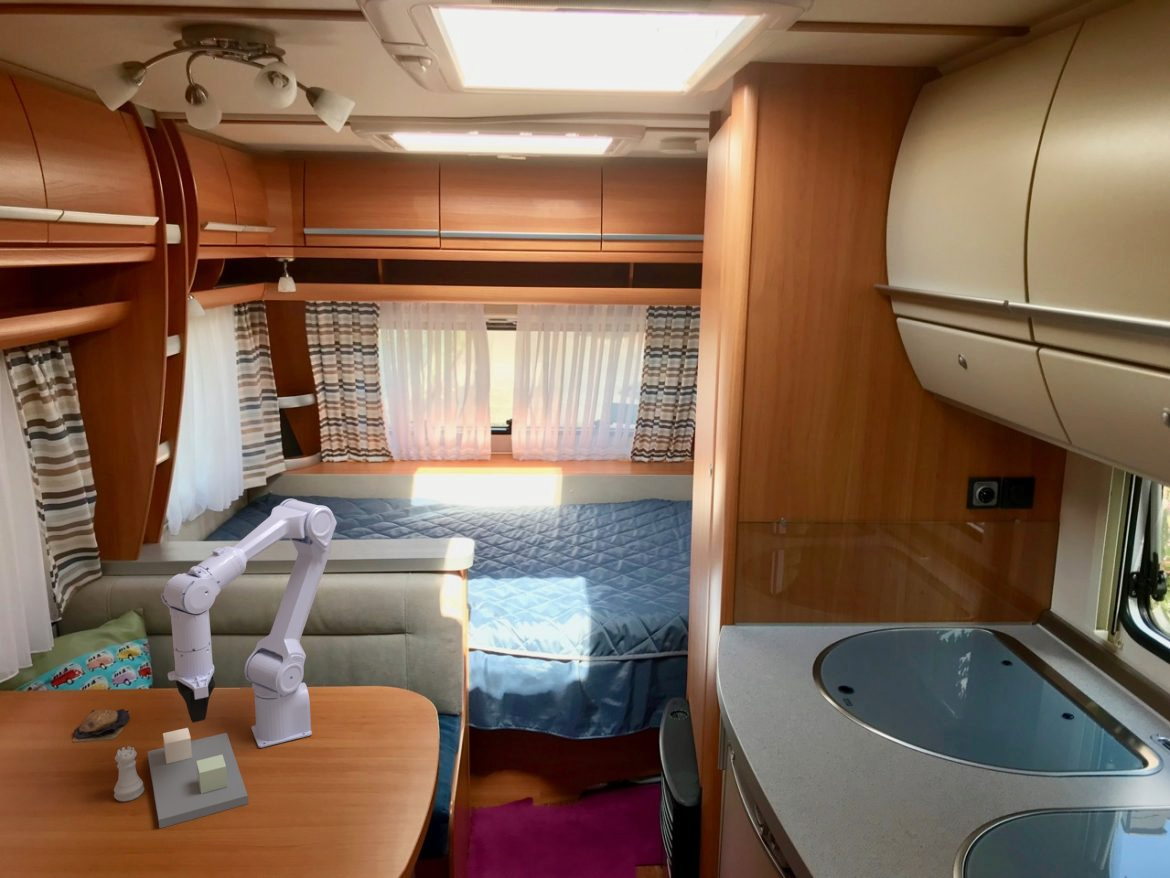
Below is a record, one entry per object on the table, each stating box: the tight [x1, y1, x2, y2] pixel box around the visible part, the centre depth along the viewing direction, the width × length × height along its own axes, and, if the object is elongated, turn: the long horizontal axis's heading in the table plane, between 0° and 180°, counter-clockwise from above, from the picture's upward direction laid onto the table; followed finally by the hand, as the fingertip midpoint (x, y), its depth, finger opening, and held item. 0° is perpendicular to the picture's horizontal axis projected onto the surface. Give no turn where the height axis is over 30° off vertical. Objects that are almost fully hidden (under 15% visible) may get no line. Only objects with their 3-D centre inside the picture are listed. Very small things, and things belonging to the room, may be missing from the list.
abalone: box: [71, 708, 131, 744], centre depth 161 cm, size 11×8×4 cm
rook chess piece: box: [113, 745, 145, 803], centre depth 140 cm, size 4×4×8 cm
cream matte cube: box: [162, 727, 192, 764], centre depth 149 cm, size 4×4×4 cm
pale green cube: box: [196, 755, 227, 794], centre depth 141 cm, size 4×4×4 cm
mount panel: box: [147, 732, 249, 829], centre depth 145 cm, size 13×22×4 cm, turn 31°
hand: (198, 719), depth 145 cm, fingers closed
